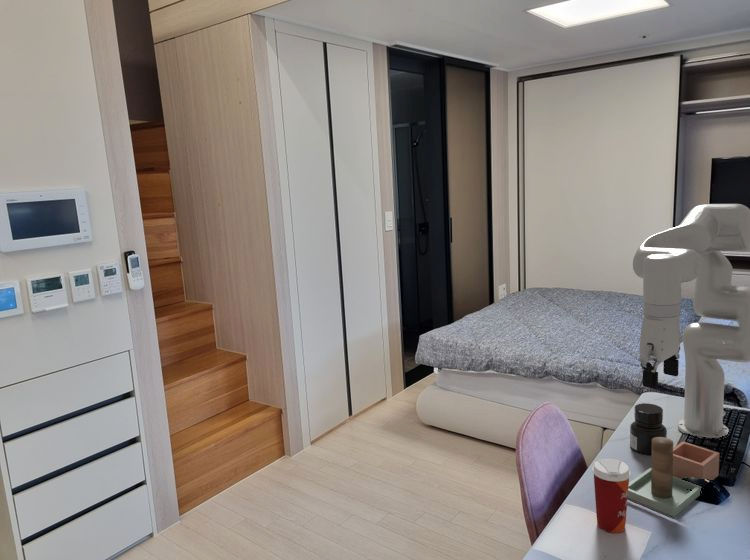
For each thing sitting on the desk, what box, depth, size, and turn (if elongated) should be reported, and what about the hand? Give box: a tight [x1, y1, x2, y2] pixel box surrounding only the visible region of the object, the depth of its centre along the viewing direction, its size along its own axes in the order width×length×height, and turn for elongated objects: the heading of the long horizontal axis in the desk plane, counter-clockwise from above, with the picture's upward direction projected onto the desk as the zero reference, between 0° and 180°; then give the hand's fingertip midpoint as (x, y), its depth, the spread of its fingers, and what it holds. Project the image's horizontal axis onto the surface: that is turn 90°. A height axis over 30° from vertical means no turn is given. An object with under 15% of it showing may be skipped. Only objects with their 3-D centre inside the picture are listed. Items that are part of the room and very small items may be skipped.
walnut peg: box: [650, 437, 674, 499], centre depth 131 cm, size 4×4×13 cm
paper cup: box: [591, 458, 632, 534], centre depth 122 cm, size 8×8×14 cm
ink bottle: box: [629, 402, 668, 457], centre depth 152 cm, size 10×9×12 cm
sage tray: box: [627, 467, 702, 520], centre depth 132 cm, size 13×12×2 cm
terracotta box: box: [673, 441, 720, 481], centre depth 138 cm, size 9×9×6 cm
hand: (660, 381), depth 131 cm, fingers open, 9 cm apart
